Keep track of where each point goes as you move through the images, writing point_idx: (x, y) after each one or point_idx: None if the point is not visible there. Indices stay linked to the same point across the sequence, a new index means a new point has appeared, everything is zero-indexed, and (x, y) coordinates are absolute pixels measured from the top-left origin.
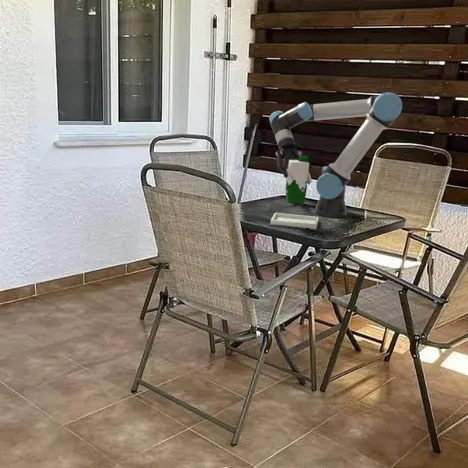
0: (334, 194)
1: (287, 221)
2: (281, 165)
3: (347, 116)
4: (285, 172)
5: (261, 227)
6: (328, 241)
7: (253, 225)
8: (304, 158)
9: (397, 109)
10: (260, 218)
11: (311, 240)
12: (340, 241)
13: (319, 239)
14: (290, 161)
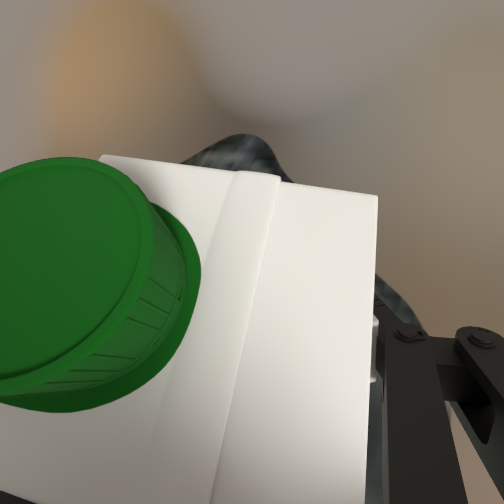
0: None
1: None
2: (487, 358)
3: None
4: (380, 310)
5: (392, 296)
6: (234, 150)
7: (419, 326)
8: (103, 174)
9: None
10: (373, 459)
11: (275, 158)
12: (203, 149)
13: (250, 165)
14: (373, 283)
